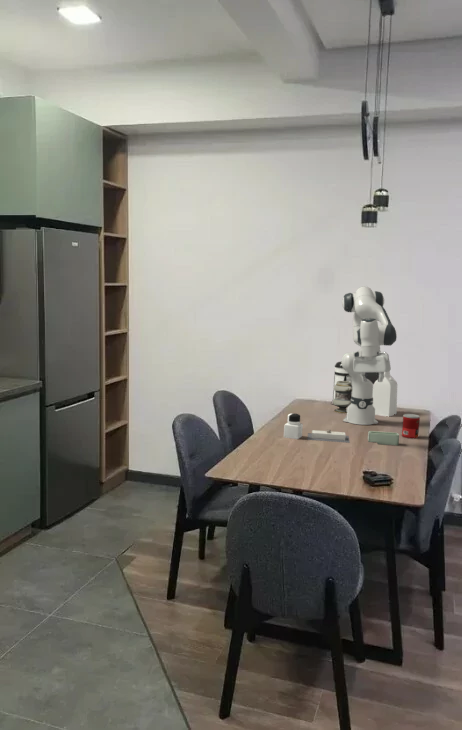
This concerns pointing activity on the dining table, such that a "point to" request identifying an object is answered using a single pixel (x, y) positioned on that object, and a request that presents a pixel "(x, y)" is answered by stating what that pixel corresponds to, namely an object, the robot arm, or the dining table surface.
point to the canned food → (410, 425)
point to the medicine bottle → (293, 427)
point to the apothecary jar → (342, 396)
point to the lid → (328, 435)
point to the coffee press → (340, 376)
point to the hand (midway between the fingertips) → (372, 382)
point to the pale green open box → (383, 437)
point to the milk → (385, 396)
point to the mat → (328, 439)
